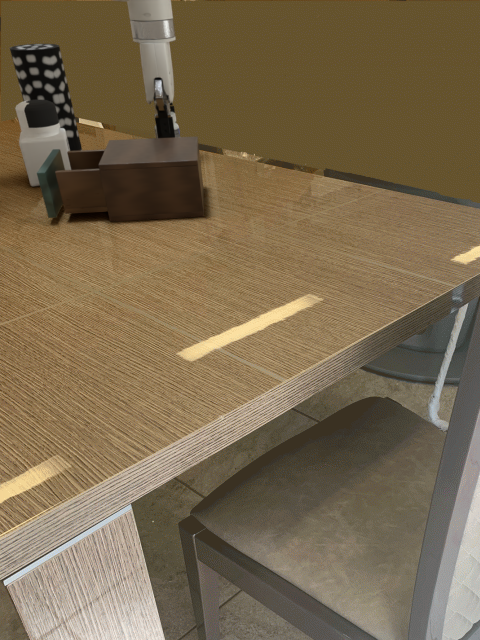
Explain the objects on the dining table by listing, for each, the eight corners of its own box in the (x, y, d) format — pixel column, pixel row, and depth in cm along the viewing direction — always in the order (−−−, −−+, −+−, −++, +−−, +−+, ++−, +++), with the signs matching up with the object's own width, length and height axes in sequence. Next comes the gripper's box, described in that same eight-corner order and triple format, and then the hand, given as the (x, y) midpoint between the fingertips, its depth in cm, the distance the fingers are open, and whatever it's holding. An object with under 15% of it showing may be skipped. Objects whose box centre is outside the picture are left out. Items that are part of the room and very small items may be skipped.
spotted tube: (45, 159, 129) (16, 44, 117) (88, 157, 129) (63, 43, 117) (36, 171, 122) (3, 50, 110) (80, 169, 123) (53, 49, 111)
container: (74, 171, 122) (57, 95, 114) (76, 182, 116) (57, 104, 108) (31, 175, 120) (11, 98, 112) (30, 187, 114) (9, 107, 106)
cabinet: (110, 221, 100) (98, 164, 95) (119, 192, 112) (109, 140, 107) (204, 216, 102) (197, 160, 97) (203, 188, 113) (197, 136, 108)
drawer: (40, 218, 99) (27, 173, 95) (55, 191, 110) (45, 149, 105) (137, 213, 101) (129, 168, 97) (143, 187, 111) (136, 145, 107)
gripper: (135, 26, 121) (151, 124, 132) (127, 37, 108) (145, 146, 118) (175, 25, 122) (187, 122, 133) (173, 36, 108) (186, 144, 119)
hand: (167, 133), depth 125 cm, fingers open, 9 cm apart
